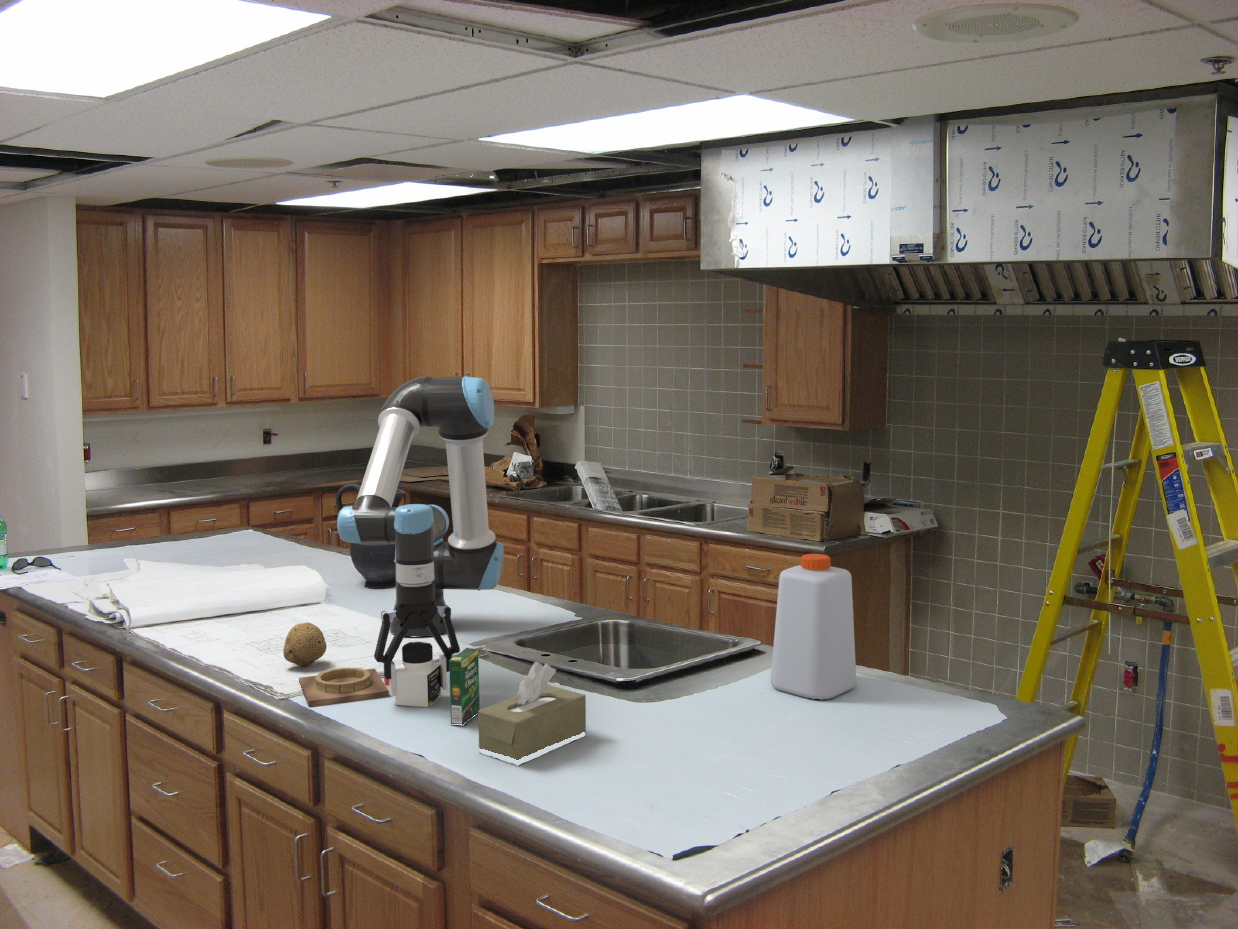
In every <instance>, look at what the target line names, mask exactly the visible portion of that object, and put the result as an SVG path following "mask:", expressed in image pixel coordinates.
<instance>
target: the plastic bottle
mask: <svg viewBox="0 0 1238 929" xmlns="http://www.w3.org/2000/svg"><path fill="white" fill-rule="evenodd" d="M831 560H832V559H831V557H830V556H829V555H827V554H821V553H806V554H803V555H802V556H801V558H800V565H796V566H792V567H789V568H786V569H784V570H782V571H781V572H780V574H779V576H778V577H779V579H778V590H777V601H776V602H777V603H776V613H775V625H774V636H773V648H772V659H771V668H770V669H771V670H770V671H771V672H770V684H771V686H772V687H773V688H774V689H775V690H778V691H780V692H784V693H788V694H791V695H794V696H799V697H802V698H807V699H809V698H811V700H815V699H820V700H819V701H824V700H823V699H826V700H830V698H831V699H834V698H835V697H838V696H840V695H842V694H844V693H846V692H848V691H851V690H852V689H854V688H855V687H856V684H857V670H856V668H857V667H856V666H857V664H856V649H855V646H856V645H855V626H854V625H855V624H854V623H855V622H854V606H853V605H854V601H853V584H852V583H853V582H852V581H853V580H852V573H851V572H850V571H849V570H847V569H845V568H841V567H836V566H831V565H832V563H831Z"/></svg>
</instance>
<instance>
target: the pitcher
mask: <svg viewBox="0 0 1238 929" xmlns="http://www.w3.org/2000/svg"><path fill="white" fill-rule="evenodd" d="M360 488H361V485H360V484H357V483H349V484H344V485H343V486H342V487H340V488H339V489H338V491H336V492H337V493H336V495H335V506H336V509H337V513H338V514H339V512H340V510H341V509H342V508H343V507H344V506H343V501H342V495H343V493H344V492H346V491H347V490H349V489H353V490H356V491H357V492H358V493H359V491H360ZM405 493H406V492H405V491H404V490H403V489H400V488H398V487H397V490H396V494H395V497H394V500H393V504H392V507H399V505H400V503H401V501H402V500H403V498H404V496H405V495H406V494H405ZM395 548H396V546H395V543H353V542H349V553H350V557H351V558H350V560H351V561H352V564H353V566H354V569H355V570H356V571H357V572H358V573H359V574H360V575H361V576H362V577H363V578H364V580H366V581H365V582H364V588H366V589H370V590H371V589H372V590H383V589H384V590H385V589H390V588H394V587H395V588H396V577H395V562H394V560H395Z"/></svg>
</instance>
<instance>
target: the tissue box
mask: <svg viewBox="0 0 1238 929" xmlns="http://www.w3.org/2000/svg"><path fill="white" fill-rule="evenodd" d="M556 671H557V669H556V668H553V667H551V666H550V665H549V664H548V663H545V664H544V665H543V664H542V663H541V662H539V661H537V660H536V661H534V662H533V664H532V665H531V667H530V669H529V672H528V674H527V675H526V676H527V677H525V678H524V679H522V681H520V682H519V685H518V686H519V687H518V692H517V695H516V696H513V697H510V698H508V699H504V700H502V701H500V702H497V703H495V704H492V705H489V706H487V707H484V708H480V710H479V711H478V714H477V715H478V720H477V721H478V749H479V748H480V749H485V750H488V751H491V752H494V753H498V754H502V755H504V756H509V757H511V758H514V759H516V760H519V759H521V758H522V757H524V756H528V755H530V754H532V753H535V752H537V751H538V750H541V749H544V748H545V747H547V746H551V745H553V744H555V743H559V742H561V741H563V740H565V739H568V738H571V737H572V736H576V735H579V734H581V733H582V732H586V731H587V729H586V727H587V717H586V716H587V715H586V714H587V711H586V710H587V708H586V705H587V704H586V703H587V702H586V701H587V699H586V697H587V696H586V694H583V693H580V692H576V691H572V690H569V689H564V688H561V687H557V686H554V685H551V684H548V683H549V682H550V681H551V679H552V678H553V676H554V675H555V674H556ZM586 733H587V732H586Z"/></svg>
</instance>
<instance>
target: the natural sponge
mask: <svg viewBox="0 0 1238 929" xmlns="http://www.w3.org/2000/svg"><path fill="white" fill-rule="evenodd" d="M326 651H327V642H326V639H325V636H324V633H323V632H322V630H321V629H320V627H318V625H317V626H316V625H315V624H313V623H312V622H301V623H296V624H295V625H293V627H292V628H290V630H289V631H288V633H287V635H286V637H285V641H284V646H283V657H284V659H285V660H286V661H287V662H289V663H291V664H294V665H297V666H298V667H303V668H307V667H309V666H311V665H312V664H314V662H316V661H317V660H319V659H320V658H321V657H323V656H324V655H325V654H326Z"/></svg>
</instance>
